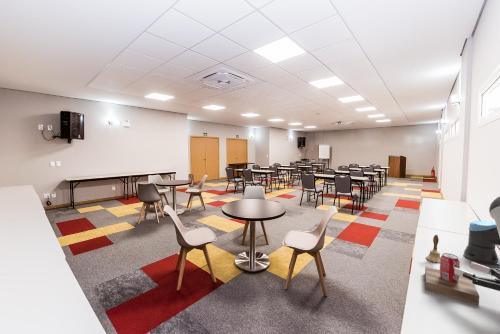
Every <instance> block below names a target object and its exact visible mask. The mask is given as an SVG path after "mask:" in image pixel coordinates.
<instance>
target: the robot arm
mask: <svg viewBox="0 0 500 334" xmlns="http://www.w3.org/2000/svg"><path fill="white" fill-rule="evenodd" d="M488 210H489V211H488V212H489V215H490V217H491V218H492V219H493V220H494V221H487V220H475V221H471V222H470V223H469V225H468V242H467V245H466V247H465V249H464V250H463V256H464V258H466V259H468V260H471V262H470V268H471V269H474V270H476V271H480V272H483V273H485V274H487V275H490V276H492V277H495V278H489V277H483V276H478V275H476V274H475V273H471V272H469V271H467V270H464V269H461V268H460V269H459V268H456V267H455V271H454V274H457V275H459V276H462V277H464V278H467V279H469V280H472V283H473V284H474V285H475V286H480V287H483V288H486V289H491V290H494V291H498V292H500V268H499V267H500V258H499V256H498V253H497V251H496V246H499V247H500V196H497V197H495V199H493V201H492V202H491V203H490V206H489V208H488ZM479 263H480V264H479ZM497 263H499V264H497ZM482 264H484V265H482ZM490 264H496V265H499V267H498V268H497V267H495V268H493V267H491V268H490V267H488V266H486V265H490Z"/></svg>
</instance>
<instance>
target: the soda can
mask: <svg viewBox="0 0 500 334" xmlns="http://www.w3.org/2000/svg"><path fill="white" fill-rule="evenodd" d="M440 258H441V259H440V263H439V270H440V277H441V278H443V279H444V280H446V281H448V282H458V280H459V275H457V274H454V271H455V267H456V268H459V269H461V268H460V267H461V266H460V265H461V261H460V259H459V256H458V255H455V254H453V253H447V252H444V253H442V254H441V255H440Z"/></svg>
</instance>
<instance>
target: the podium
mask: <svg viewBox="0 0 500 334" xmlns="http://www.w3.org/2000/svg"><path fill="white" fill-rule="evenodd" d="M424 276H425V278H424V281H425V290H426V291H429V292H432V291H433V292H432V293H435V294H439V295H443V296H447V297H450V298H453V299H457V300H461V301H464V302H468V303H471V304H475V305H477V306H478V305H480V294H479V292H478V290H477V288H476V285H475V284H473V283H472V280H469V279H467V278H464V277H462V276H459V280H458V282H448V281H446V280H444V279H443V278H441V277H440V269H437V268H433V267H429V266H425V267H424Z"/></svg>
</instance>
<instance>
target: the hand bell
mask: <svg viewBox="0 0 500 334" xmlns="http://www.w3.org/2000/svg"><path fill="white" fill-rule="evenodd" d="M432 241H433V242H432V243H433V249H431V250H430V251H429V253H428V255H427V256H426V257H425V259H426V260H427V259H428V260H427V261H429V260H430V261H429V262H431V261H433V262H432V263H434V262H437V263H436V264H440V259H441V253H440V251H438V245H439V236H438V234H434V236H433V237H432Z"/></svg>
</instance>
